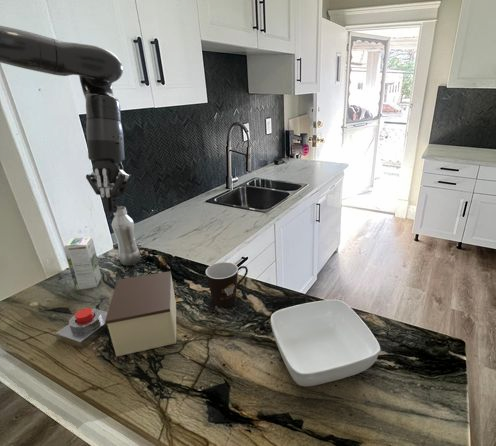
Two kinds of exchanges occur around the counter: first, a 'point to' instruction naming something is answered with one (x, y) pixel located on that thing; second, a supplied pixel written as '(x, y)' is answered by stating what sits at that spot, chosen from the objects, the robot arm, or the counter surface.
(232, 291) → the coffee mug
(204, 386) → the counter surface
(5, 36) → the robot arm
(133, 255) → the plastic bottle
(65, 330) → the control block
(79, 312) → the button
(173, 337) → the cream hinged box
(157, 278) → the lid
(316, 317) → the bowl
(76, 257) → the syrup box
